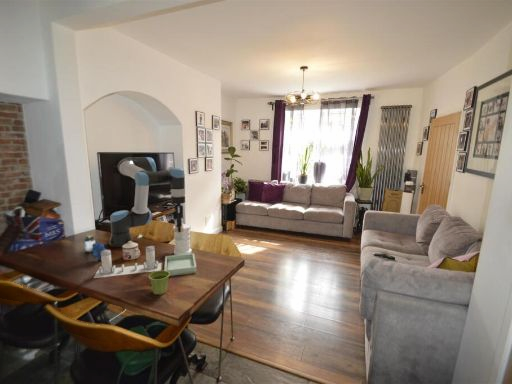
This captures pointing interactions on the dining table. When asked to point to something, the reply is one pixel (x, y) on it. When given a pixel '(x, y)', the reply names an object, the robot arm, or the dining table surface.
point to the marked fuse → (176, 231)
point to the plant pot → (159, 281)
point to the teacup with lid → (130, 251)
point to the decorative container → (183, 242)
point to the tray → (180, 264)
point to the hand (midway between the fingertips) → (179, 235)
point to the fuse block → (109, 271)
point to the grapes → (97, 250)
